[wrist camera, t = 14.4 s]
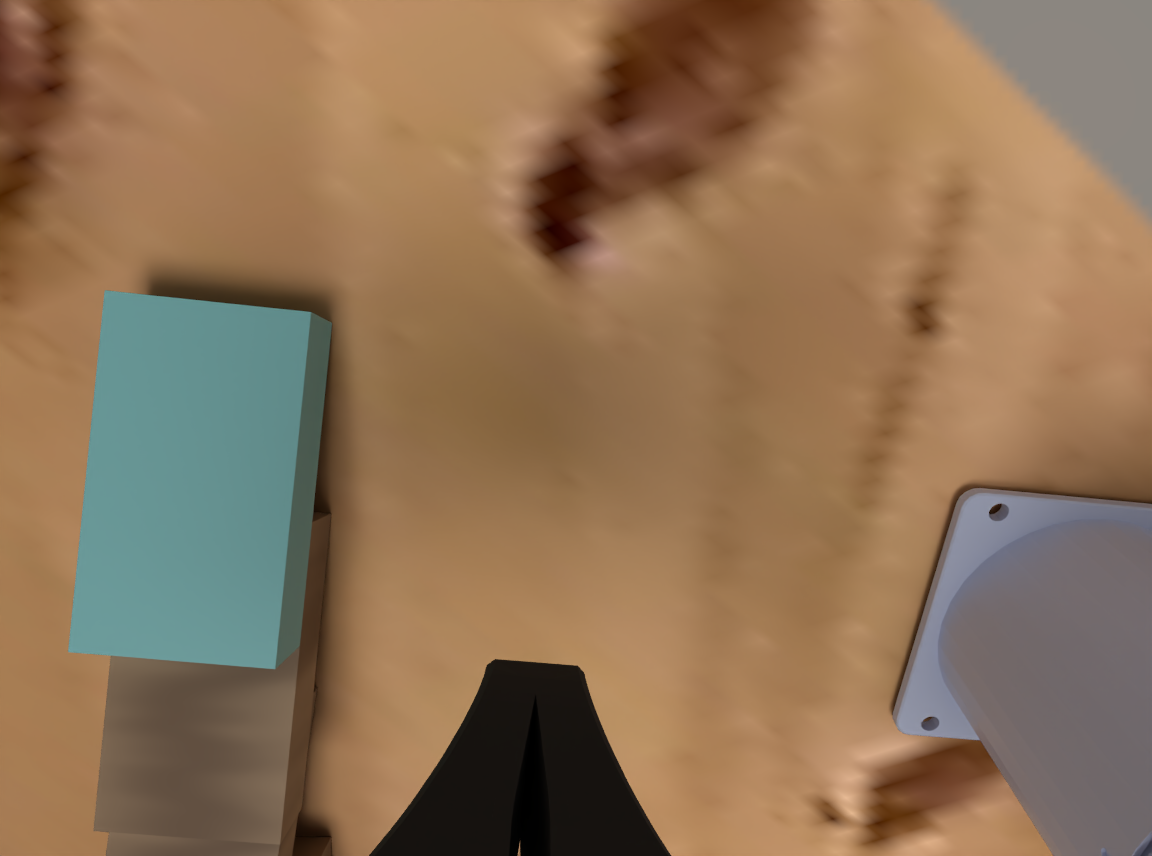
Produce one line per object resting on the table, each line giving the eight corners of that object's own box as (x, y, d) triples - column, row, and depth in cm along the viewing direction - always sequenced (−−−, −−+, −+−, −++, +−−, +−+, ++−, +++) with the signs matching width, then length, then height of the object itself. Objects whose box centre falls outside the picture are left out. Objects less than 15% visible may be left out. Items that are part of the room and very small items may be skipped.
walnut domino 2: (299, 712, 23) (255, 1000, 23) (317, 687, 25) (277, 952, 25) (129, 690, 23) (87, 982, 23) (161, 667, 25) (121, 935, 25)
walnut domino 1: (312, 522, 21) (279, 844, 21) (331, 513, 23) (301, 807, 23) (125, 504, 21) (93, 830, 21) (161, 497, 23) (132, 794, 23)
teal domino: (311, 312, 19) (274, 669, 19) (332, 322, 21) (299, 645, 21) (104, 290, 19) (67, 652, 19) (146, 303, 21) (113, 630, 21)
